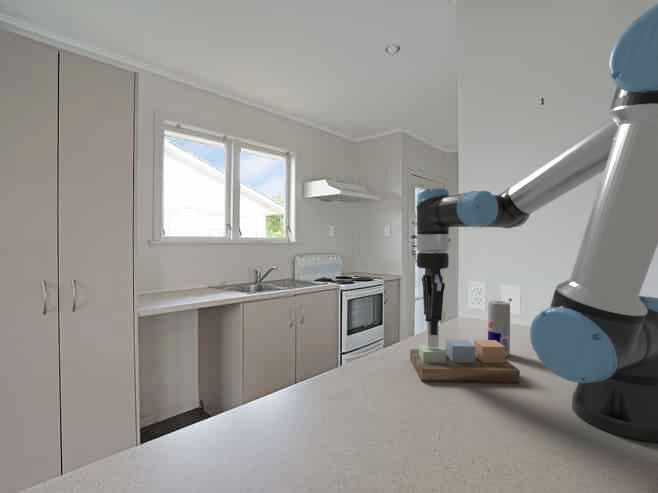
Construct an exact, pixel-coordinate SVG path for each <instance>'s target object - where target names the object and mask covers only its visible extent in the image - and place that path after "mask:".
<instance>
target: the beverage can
mask: <svg viewBox="0 0 658 493" xmlns="http://www.w3.org/2000/svg"><path fill="white" fill-rule="evenodd" d="M487 304H488V305H487V306H488V307H487V313H488V314H487V315H488V316H487V340H496V341H497V342H499V343H500V344H502V345H503V346H505V357H509V356H510V352H511V351H510V350H511V348H510V346H511V344H510V343H511V305H510V302H509V301H504V300H489V301H488V303H487Z"/></svg>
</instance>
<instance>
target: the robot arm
mask: <svg viewBox="0 0 658 493" xmlns="http://www.w3.org/2000/svg"><path fill="white" fill-rule="evenodd" d="M608 71H609V75H610V78H611V80H612V82H613V83H614V84H615V86H616V89H615V93H614V96H613V98H612V102H611V106H610V109H609V113H608V114H609V116H610V117H609V118H608V119H607V120H605V121H604V122H602V123H601V124H599V125H597V127H595V128H593V129H592V130H591V131H589V132H588V133H586V134H585V135H583V136H582V137H580V138H579V139H578V140H576V141H574V142H573V143H572V144H571V145H568V146H567V147H565V149H563V150H562V151H560V152H559V153H557V154H556V155H555V156H553V157H551V158H550V159H549V160H546V162H544V163H543V164H541V165H540V166H539V167H537V168H536V169H534V170H532V172H530V173H529V174H527V175H526V176H524V177H523V178H521V179H520V180H519V181H516V183H514V184H512V186H510V187H509V188H507V189H505V190H504V191H503V192H501V193H500V194H497V195H496V194H492V192H490V191H488V190H479V191H478V190H472V191H470V190H469V192H463V193H456V194H449V193H450V192H449V190H448V189H447V188H442V187H440V188H438V187H435V188H434V187H433V188H425V189H421V190H419V191H418V193H417V200H416V230H417V232H416V251H418V252H417V254H416V266H417V268H419V269H424V274H422V277H421V282H422V295H423V296H422V297H423V299H422V300H423V315H425V318H424V321H425V323H426V324H425V325H426V326H425V327H426V329H425V331H426V332H425V333H426V334H425V338H426V339H425V345H426V346H427V347H433V348H439V345H440V344H439V342H440V340H439V338H440V337H439V336H440V335H439V334H440V332H439V331H440V326H439V324H440V321H441V322H442V318H443V317H442V316H443V304H444V292H445V286H446V283H445V282H444V281H443V280H444V278H443V275H442V274H441V273H442V272H441V270H443V269H448V268H449V263H450V262H449V256H450V255H449V254H448V252H447V251H449V243H451V240H452V239H451V238H449V234H450V232H449V230H450V228H501V229H502V228H503V229H512V228H518V227H521V226H523V225H524V224H525V223H526V222H527V221H528V219H529V218H530V215H531V214H533V213H534V212H536V211H538V210H539V209H541V208H542V207H545V206H546V205H548V204H549V203H551V202H553V201H555V200H556V199H558V198H559V197H562V196H564V195H565V194H567V193H568V192H570V191H572V190H573V189H575V188H576V187H579V186H580V185H582V184H584V183H586V182H587V181H589V180H592V178H594V177H596V176H597V175H599V174H601V173H602V172H603V174H602V176H601V180H600V183H599V186H598V189H597V193H596V195H595V198H594V203H593V206H592V208H591V212H590V215H589V218H588V221H587V225H586V228H585V231H584V234H583V237H582V241H581V243H580V247H579V251H578V252H577V253H578V254H577V257H576V259H575V263H574V265H573V269H572V272H571V276H570V278H569V279H567V280H566V281H562V282H560V283H558V284H557V286H556V287H555V290H554V294H553V296H552V300H551V303H550V306H549V307H548V308H546V309H544V310H541V312H539V313H538V314H537V315H536V316H535V317H534V319H533V320H532V322H531V325H530V328H529V339H530V343H531V346H532V349H533V351H534V352H535V354H536V356H537V357H538V359H539V361H540V362H541V363H542V365H543V366H545V368H547V369H548V370H549V371H550V372H552V373H553V374H555V375H556V376H558V377H559V378H562V379H563V380H566V381H569V382H572V383H577V384H576V387H575V390H574V391H573V393H572V397H571V398H572V399H571V408H572V410H573V412H574V413H575V414H576V415H577V416H578V417H579V418H581V419H582V420H583V421H585V422H587V423H589V424H590V425H592V426H594V427H596V428H599V429H601V430H604V431H607V432H609V433H612V434H615V435H617V436H621V437H625V438H628V439H633V440H638V441H643V442H650V443H651V442H652V443H658V297H653V296H646V295H645V296H644V295H640V294H641V291H642V288H643V285H644V282H645V281H646V280H645V279H646V278H647V274H648V272H649V269H650V266H651V264H652V261H653V258H654V255H655V252H656V250H657V247H658V3H656V4H654V5H653V6H651V7H649V8H648V9H647V10H646V11H644V13H642V14H641V15H640V16H638V18H637V19H635V20H633V21H632V22H631V23H630V24H629V25H628V26H627V27H626V28H625V29H624V31H623V32H622V33H621V34H620V35H619V38H618V39H617V40H616V42H615V43H614V45H613V47H612V49H611V53H610V55H609V59H608Z"/></svg>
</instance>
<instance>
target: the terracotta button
mask: <svg viewBox="0 0 658 493" xmlns="http://www.w3.org/2000/svg"><path fill="white" fill-rule="evenodd" d="M473 345H474V346H476V351H475V357H476V358H477V359H478V360H479V361H480V362H482V363H505V360H506V356H505V346H503V345H502V344H500V343H499V342H497V341H496V340H488V339H473Z"/></svg>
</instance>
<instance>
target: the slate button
mask: <svg viewBox="0 0 658 493" xmlns="http://www.w3.org/2000/svg"><path fill="white" fill-rule="evenodd" d="M445 350H446V355H447V357H448V358H449V359H450V360H451V361H452V362H453V363H475V351H476V346H474V343H472V342H471V341H469V339H446V340H445Z"/></svg>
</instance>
